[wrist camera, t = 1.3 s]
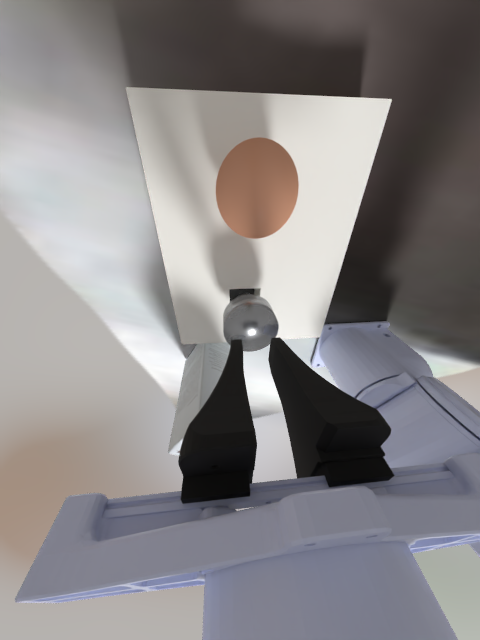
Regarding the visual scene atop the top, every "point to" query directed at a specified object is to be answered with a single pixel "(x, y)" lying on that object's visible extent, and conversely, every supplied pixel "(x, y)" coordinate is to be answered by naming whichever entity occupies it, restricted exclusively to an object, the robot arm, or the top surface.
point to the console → (207, 223)
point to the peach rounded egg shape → (257, 188)
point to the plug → (250, 322)
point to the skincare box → (197, 387)
